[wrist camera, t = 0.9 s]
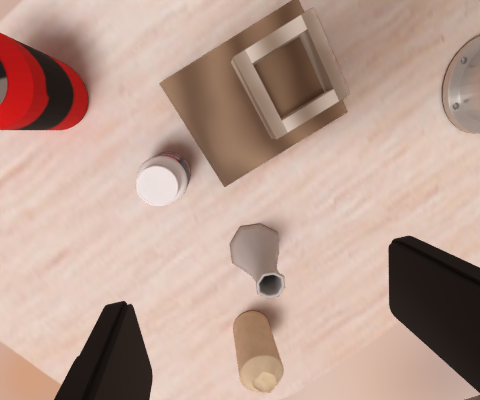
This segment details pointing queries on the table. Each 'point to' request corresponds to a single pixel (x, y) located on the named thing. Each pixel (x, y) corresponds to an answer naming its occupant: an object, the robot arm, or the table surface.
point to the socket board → (260, 91)
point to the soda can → (37, 90)
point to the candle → (256, 353)
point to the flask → (259, 258)
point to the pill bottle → (163, 179)
